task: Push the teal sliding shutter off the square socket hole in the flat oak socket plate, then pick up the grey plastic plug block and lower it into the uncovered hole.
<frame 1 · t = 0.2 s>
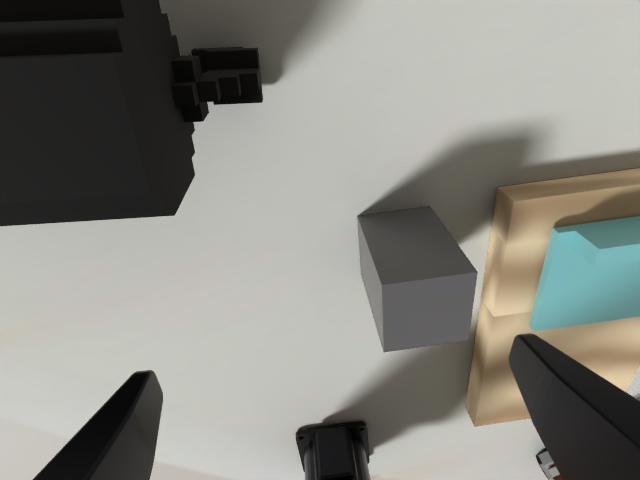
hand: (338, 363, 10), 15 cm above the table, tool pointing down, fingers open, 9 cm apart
security camera: (73, 79, 19), on the table
toy fire truck: (591, 455, 43), on the table
shutter: (614, 284, 24), point 4 cm above the table, slide at 0.0 cm
plug: (393, 241, 26), on the table
socket plate: (561, 306, 30), on the table
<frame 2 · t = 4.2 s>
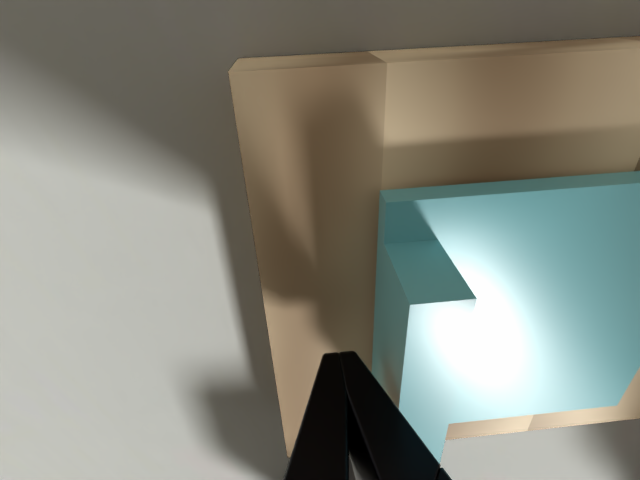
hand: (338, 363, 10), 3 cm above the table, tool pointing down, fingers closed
shutter: (543, 347, 10), point 4 cm above the table, slide at 0.9 cm, touching gripper
socket plate: (599, 253, 13), on the table
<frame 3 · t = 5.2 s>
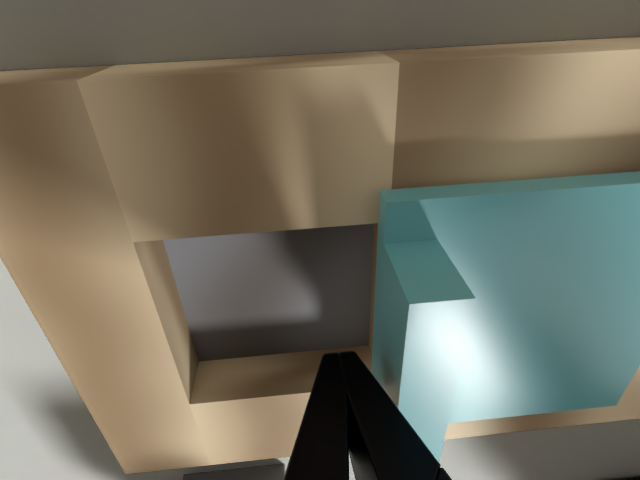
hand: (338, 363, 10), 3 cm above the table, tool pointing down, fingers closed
shutter: (542, 346, 10), point 4 cm above the table, slide at 6.7 cm, touching gripper
socket plate: (430, 268, 13), on the table
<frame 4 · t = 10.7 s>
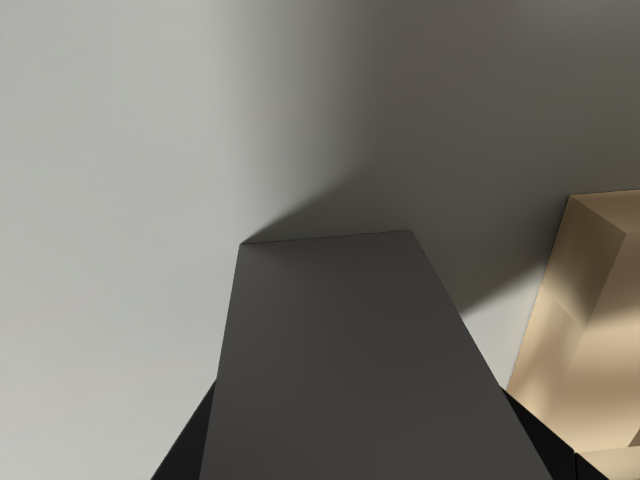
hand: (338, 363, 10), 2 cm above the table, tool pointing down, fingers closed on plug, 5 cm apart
plug: (329, 303, 12), on the table, touching gripper
when the fingers open (3 cm above the table, at t = 14.7 s): plug stays where it is, resting on socket plate.
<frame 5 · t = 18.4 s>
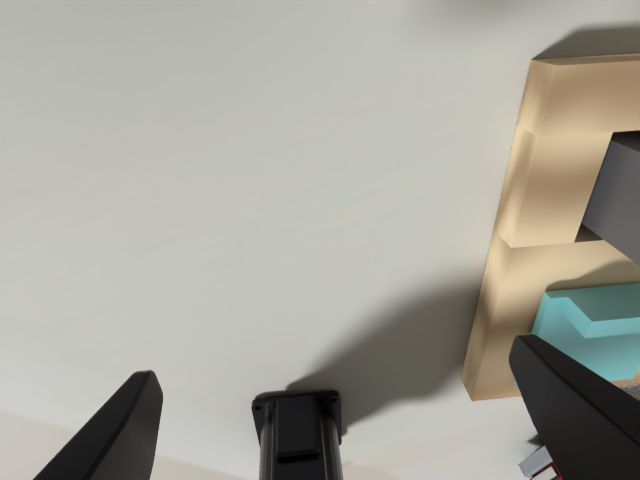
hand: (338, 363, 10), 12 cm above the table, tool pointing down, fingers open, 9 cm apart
toy fire truck: (600, 445, 37), on the table
shutter: (603, 351, 23), point 4 cm above the table, slide at 10.0 cm
plug: (623, 173, 21), resting on socket plate
socket plate: (590, 249, 24), on the table
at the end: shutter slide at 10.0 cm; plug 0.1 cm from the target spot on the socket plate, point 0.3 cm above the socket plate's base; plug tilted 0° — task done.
